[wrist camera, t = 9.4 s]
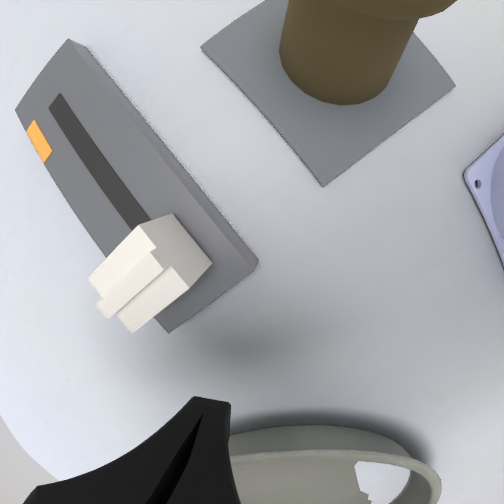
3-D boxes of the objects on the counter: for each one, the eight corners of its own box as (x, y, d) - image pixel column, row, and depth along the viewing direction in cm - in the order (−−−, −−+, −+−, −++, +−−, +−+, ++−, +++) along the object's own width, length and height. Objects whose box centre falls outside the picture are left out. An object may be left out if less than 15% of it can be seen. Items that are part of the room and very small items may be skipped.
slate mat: (452, 87, 13) (456, 85, 12) (322, 186, 15) (323, 186, 15) (335, -33, 12) (336, -38, 11) (202, 50, 14) (199, 46, 14)
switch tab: (212, 262, 14) (184, 294, 11) (162, 303, 15) (125, 340, 11) (172, 213, 14) (130, 227, 10) (125, 258, 15) (80, 283, 11)
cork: (328, 128, 14) (400, 28, 3) (255, 41, 13) (195, -114, 3) (415, 73, 12) (540, -23, 2) (342, -7, 12) (375, -151, 1)
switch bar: (258, 259, 17) (253, 271, 14) (180, 318, 18) (167, 334, 16) (85, 47, 15) (67, 38, 13) (33, 112, 16) (13, 109, 14)
